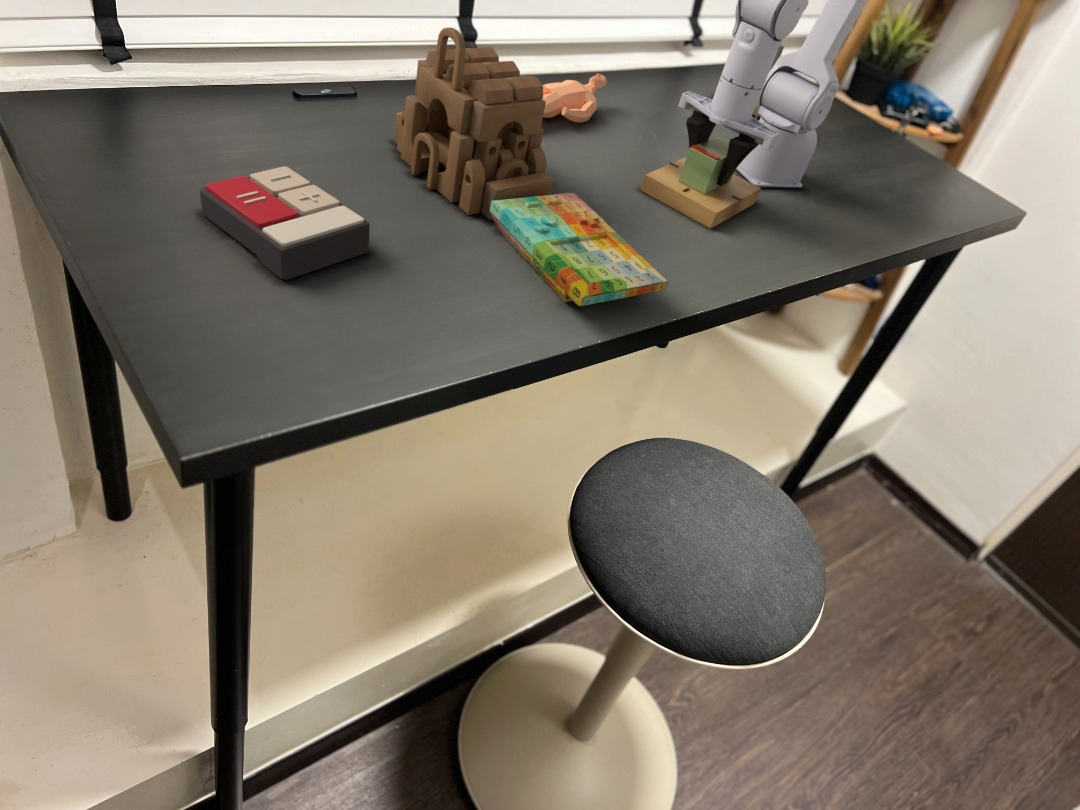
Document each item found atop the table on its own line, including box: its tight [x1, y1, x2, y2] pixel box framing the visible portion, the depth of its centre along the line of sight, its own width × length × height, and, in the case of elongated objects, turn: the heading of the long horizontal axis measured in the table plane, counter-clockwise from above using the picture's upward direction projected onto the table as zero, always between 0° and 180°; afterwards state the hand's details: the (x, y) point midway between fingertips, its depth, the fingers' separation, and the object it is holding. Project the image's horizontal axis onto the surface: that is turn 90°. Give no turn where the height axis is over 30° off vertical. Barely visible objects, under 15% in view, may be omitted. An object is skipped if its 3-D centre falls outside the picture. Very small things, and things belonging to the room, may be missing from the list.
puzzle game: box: [489, 192, 669, 307], centre depth 90 cm, size 12×5×20 cm
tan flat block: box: [640, 156, 762, 230], centre depth 113 cm, size 14×12×3 cm
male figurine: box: [542, 73, 607, 123], centre depth 124 cm, size 11×5×25 cm
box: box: [678, 136, 735, 194], centre depth 110 cm, size 8×4×5 cm, turn 141°
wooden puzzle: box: [393, 26, 556, 221], centre depth 98 cm, size 22×15×19 cm, turn 39°
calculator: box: [199, 166, 371, 281], centre depth 84 cm, size 11×4×15 cm
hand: (706, 175), depth 112 cm, fingers closed on box, 4 cm apart
